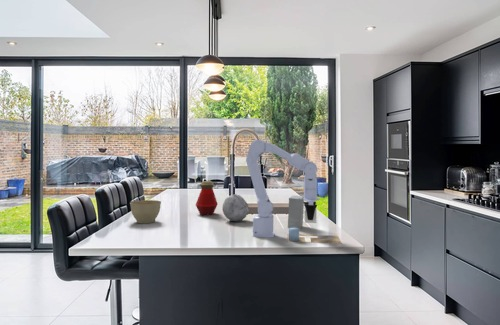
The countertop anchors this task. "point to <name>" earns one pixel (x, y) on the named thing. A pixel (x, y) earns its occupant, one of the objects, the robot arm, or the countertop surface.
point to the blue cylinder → (294, 234)
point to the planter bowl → (145, 210)
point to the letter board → (319, 239)
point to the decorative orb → (235, 208)
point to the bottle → (206, 199)
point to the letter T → (308, 238)
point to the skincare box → (295, 212)
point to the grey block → (310, 220)
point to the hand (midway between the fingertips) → (310, 218)
